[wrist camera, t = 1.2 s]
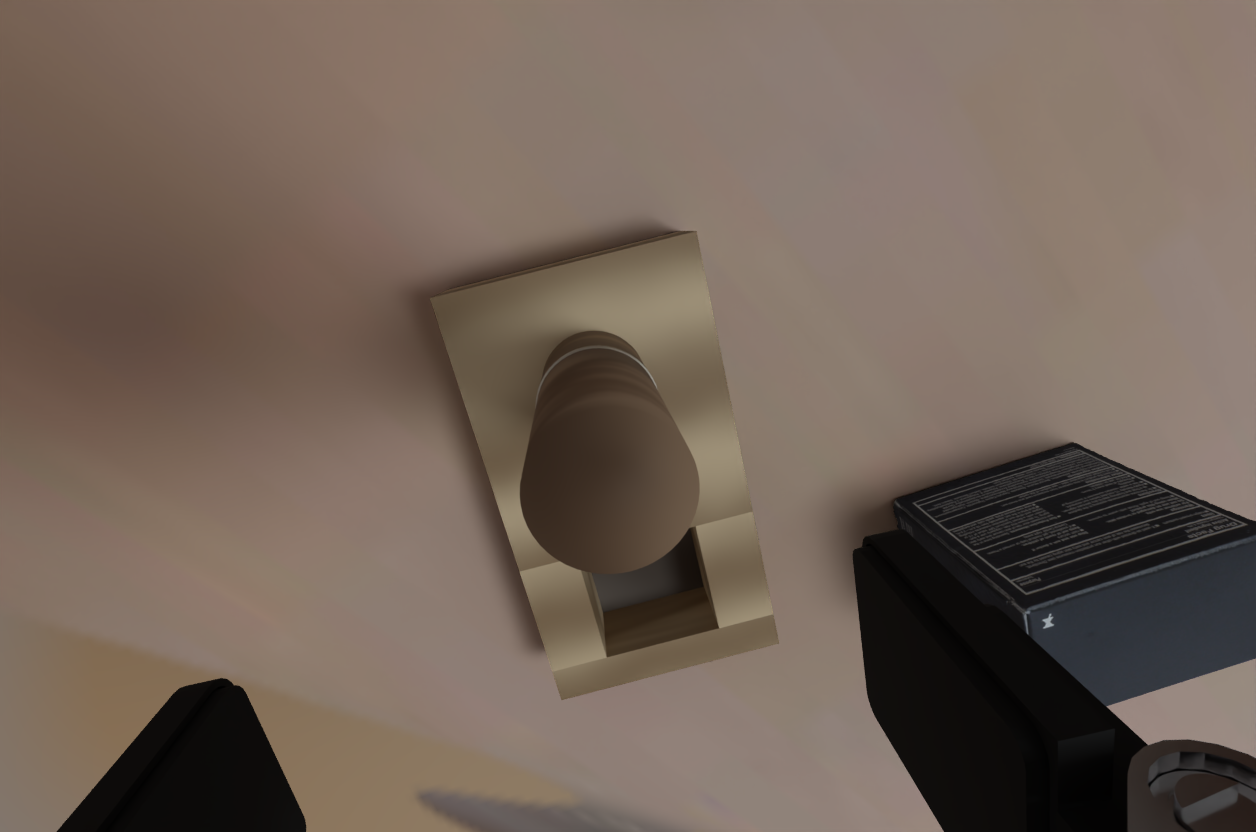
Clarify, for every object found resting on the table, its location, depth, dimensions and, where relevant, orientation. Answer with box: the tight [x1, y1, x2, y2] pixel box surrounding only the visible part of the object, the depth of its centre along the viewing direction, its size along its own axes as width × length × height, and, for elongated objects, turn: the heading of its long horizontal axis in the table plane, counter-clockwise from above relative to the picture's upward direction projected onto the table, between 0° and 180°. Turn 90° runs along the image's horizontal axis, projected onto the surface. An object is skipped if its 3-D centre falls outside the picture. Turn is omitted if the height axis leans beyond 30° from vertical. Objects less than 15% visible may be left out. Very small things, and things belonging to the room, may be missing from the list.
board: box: [430, 231, 779, 700], centre depth 31 cm, size 20×11×4 cm, turn 14°
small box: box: [893, 443, 1256, 706], centre depth 30 cm, size 11×6×10 cm, turn 107°
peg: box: [520, 331, 700, 574], centre depth 21 cm, size 4×4×12 cm
